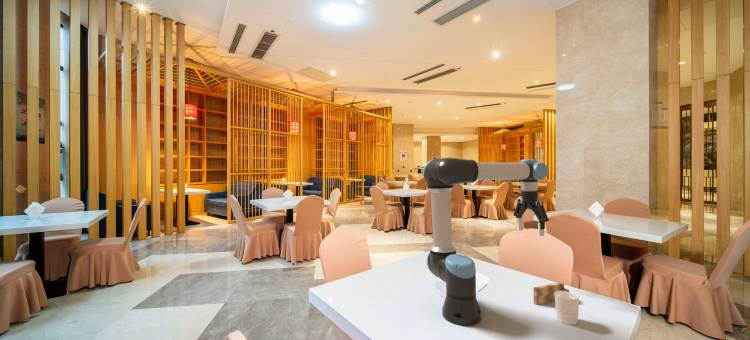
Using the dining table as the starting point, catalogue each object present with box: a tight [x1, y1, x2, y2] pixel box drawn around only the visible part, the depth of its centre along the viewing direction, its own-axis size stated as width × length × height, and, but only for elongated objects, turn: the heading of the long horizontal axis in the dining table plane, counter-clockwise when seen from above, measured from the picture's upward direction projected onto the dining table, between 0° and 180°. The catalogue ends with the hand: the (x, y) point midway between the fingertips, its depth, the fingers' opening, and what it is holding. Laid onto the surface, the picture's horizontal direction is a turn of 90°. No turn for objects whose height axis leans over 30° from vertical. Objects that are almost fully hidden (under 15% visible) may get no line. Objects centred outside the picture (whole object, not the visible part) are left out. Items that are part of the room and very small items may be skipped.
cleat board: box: [532, 282, 570, 306], centre depth 128 cm, size 16×4×7 cm, turn 107°
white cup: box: [554, 291, 580, 326], centre depth 113 cm, size 8×8×10 cm
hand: (530, 233), depth 144 cm, fingers open, 13 cm apart
